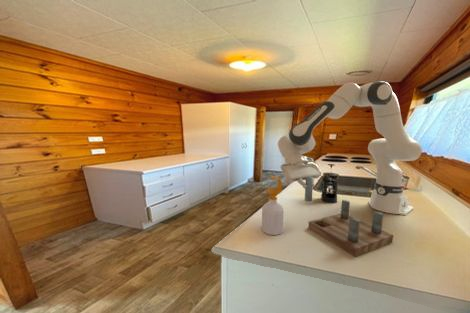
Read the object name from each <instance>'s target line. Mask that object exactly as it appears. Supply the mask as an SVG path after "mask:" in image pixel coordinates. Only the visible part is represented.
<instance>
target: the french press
mask: <svg viewBox="0 0 470 313" xmlns="http://www.w3.org/2000/svg"><path fill="white" fill-rule="evenodd" d="M327 165H328V166H329V167H330V169H332V168H333V166H336V164H333V163H328V164H327ZM322 176H323V178H324V177H329V179H324V180H323V179H322V181H321V184H322V187H321V195H320V196H321V197H320V201H322V202H323V203H327V204H337V203H338V186H339V181H337V180H338V179H339V176H340V174H338V173H334V172H323V173H322ZM331 179H332V180H331ZM331 187H332V188H331Z"/></svg>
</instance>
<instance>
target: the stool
mask: <svg viewBox="0 0 470 313" xmlns="http://www.w3.org/2000/svg"><path fill="white" fill-rule="evenodd" d="M350 203H351V202H350V200H346V199H345V200H344V199H343V200H341V206H340V207H341V208H340V213H338V214H334V215H331V216H330V215H329V216H327V217H321V218H318V219H314V220H309V221H308V229H309V230H311V231H312V232H315V234H318V235H319V236H321V237H323V238H324V239H325V240H328V241H329V242H330V243H332V244H334V245H335V246H338V247H339V248H340V249H342V250H344V251H345V252H347V253H349V254H350V255H353V257H358V256H360V255H364V254H366V253H368V252H371V251H374V250H376V249H379V248H381V247H385V246H386V245H389V244H391V243H393V242H394V241H393V240H394V234H393V233H389V232H387V231H385V230H382V229H383V223H384V222H383V221H384V220H383V218H384V213H383V212H381V211H372V220H371V221H372V223H371V225H370V224H369V223H367V222H364V221H363V220H360V219H358V218H355V217H352V216H350V215H349V214H350V205H351V204H350Z"/></svg>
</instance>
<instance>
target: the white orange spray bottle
mask: <svg viewBox="0 0 470 313" xmlns="http://www.w3.org/2000/svg"><path fill="white" fill-rule="evenodd" d="M269 177H270V178H271V179H275V180H277V188H276V189H267V190H266V192H267V193H268V194H269V195H270V196H269V197H268V202H266V203H264V204H263V206H262V208H261V231H262V232H263V233H264V234H267V235H270V236H277V235H280V234H283V231H284V212H285V211H284V207H283V206H282V205H281V204H280V203H278V198H277V196H276V195H277V194H280V193H281V192H282V186H283V185H282V184H283V183H282V180H281V178H279V177H278V176H275V175H272V174H269Z"/></svg>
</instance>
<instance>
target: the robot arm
mask: <svg viewBox="0 0 470 313" xmlns="http://www.w3.org/2000/svg"><path fill="white" fill-rule="evenodd" d="M352 107H353V108H365V107H371V109H372V113H373V121H374V125H375V126H374V127H375V130H376V132H377V133H378V134H380V135H381V136H383V137H384V138H383V137H382V138H376V139H372V140H371V141H370V142H369V143H368V145H367V146H368V147H367V151H368V153H369V154H370V155H371V156H372V158H373V159H374V162H375V166H376V180H375V182H374V185H373V186H374V189H373V190H372V191H371V196H370V200H368V202H367V204H368V205H369V206H370V208H372V209H374V210H376V211H378V212H381V213H388V214H396V215H397V214H398V215H402V216H407V214H409V213H410V212H411V211H413V210H414V206H412V205H409V197H408V196H407V195H405V193H404V191H403V190H406V185H404V184H402V183H403V174H404V172H403V170H402V168H400V167H399V166H398V165H397V163H396V161H400V162H410V161H411V162H413V161H416V160H418V159H419V157H420V156H421V155H422V152H423V149H422V146H421V144H420V143H419V142H418V141H416V140H414V139H413V138H412V137H411V136H410V135H409V134H408V132H407V131H406V129H405V127H404V124H403V118H402V114H401V108H400V103H399V100H398V98H397V95H396V94H395V93H394V92H393V88H392V86H391V85H390V84H389V82H387V81H378V80H377V81H375V82H369V83H365V84H362V85H360V86H359V85H358V84H357V83H355V82H346V83H345V84H343V85H342V86H340V87H339V88H338V89H336V91H335V92H334V93H332V95H330V97H329V98H328V99H326V101H324V102H321V103H320V104H319V105H318V106H317V107H315V109H314V110H312V112H310V113H309V115H307V116H306V117H305V118H304V119H303V120H301V121H300V122H298V123H297V124H295V125H293V126H292V127H291V128H290V130H289V132H288V135H287V134H286V135H283V136H282V137H280V138H279V140H278V142H277V146H278V150H279V153H280V154H281V156H282V158H284V161H285V163H286V164H285V163H283V164H282V165H281V166H280V169H281V171H282V175H283V177H284V178H283V179H285V180H284V181H286V182H287V183H294V182H297V183H298V184H300V186H302V188H303V189H305V188H307V187H308V185H307V183H306V182H304V181H306V177H313V188H314V187H316V183H315V179H318V178H320V177H321V176H322V171H321V169H320V168H319V166H318V165H317V163H315V162H314V158H313V157H308V156H305V154H308V153H310V152H312V151H313V150H314V148H315V147H316V140H315V137H314V136H313V132H314V129H315V128H316V127H317V126H318V125H320V123H321V122H322V121H323V120H325V119H327V118H329V119H332V120H338V119H340V118H342V117H343V116H344V115H346V114H347V113H348V111H350V110H351V108H352Z"/></svg>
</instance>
